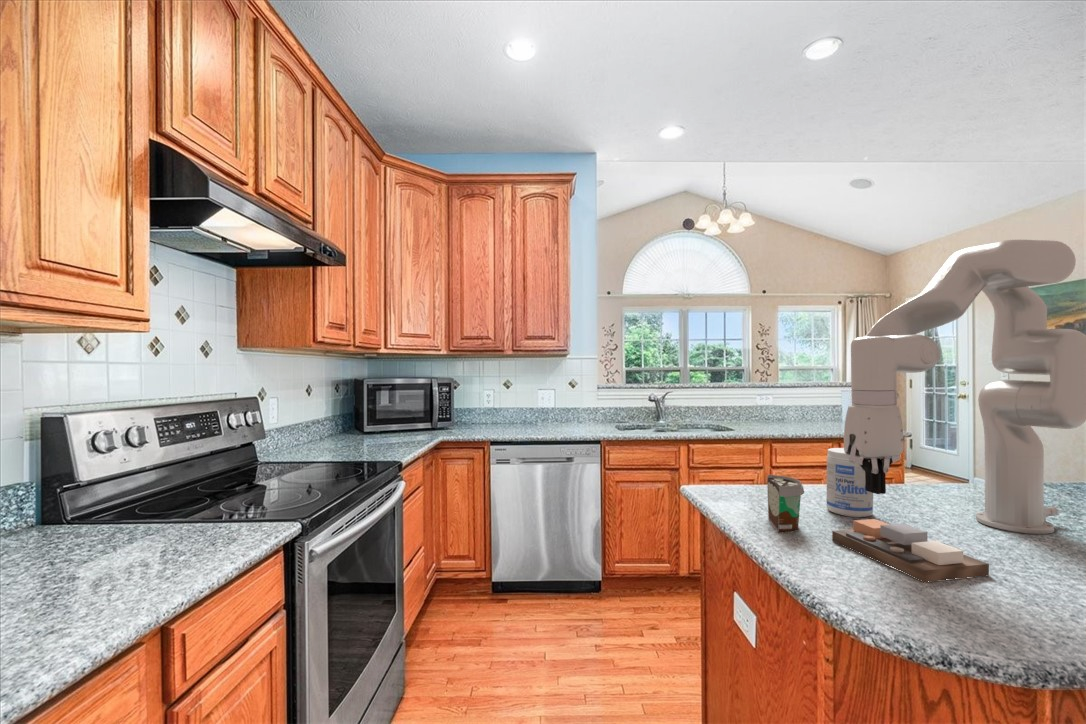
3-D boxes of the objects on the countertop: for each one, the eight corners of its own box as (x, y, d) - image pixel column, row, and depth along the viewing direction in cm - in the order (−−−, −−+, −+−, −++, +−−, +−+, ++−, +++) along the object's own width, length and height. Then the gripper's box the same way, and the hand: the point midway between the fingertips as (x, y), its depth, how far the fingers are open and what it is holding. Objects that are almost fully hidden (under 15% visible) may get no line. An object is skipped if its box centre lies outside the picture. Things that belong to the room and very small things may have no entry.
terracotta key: (874, 528, 104) (874, 518, 104) (896, 537, 99) (896, 526, 99) (853, 530, 103) (853, 520, 103) (873, 538, 98) (873, 528, 98)
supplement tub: (836, 517, 119) (835, 453, 119) (820, 506, 128) (819, 447, 128) (881, 519, 117) (881, 454, 117) (862, 507, 127) (862, 447, 127)
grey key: (902, 533, 98) (902, 523, 98) (927, 543, 93) (927, 531, 93) (880, 535, 97) (880, 525, 97) (904, 545, 92) (903, 533, 92)
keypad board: (887, 536, 106) (887, 522, 106) (988, 575, 86) (988, 558, 86) (832, 540, 103) (832, 526, 103) (924, 582, 84) (924, 564, 84)
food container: (812, 536, 106) (812, 488, 106) (780, 534, 107) (780, 486, 107) (795, 518, 118) (795, 475, 118) (766, 517, 119) (766, 474, 119)
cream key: (935, 551, 91) (935, 540, 91) (963, 562, 86) (963, 550, 86) (911, 554, 90) (911, 542, 90) (938, 565, 86) (938, 553, 86)
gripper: (889, 396, 106) (891, 485, 106) (826, 399, 103) (828, 490, 103) (923, 399, 99) (924, 494, 99) (856, 402, 96) (858, 500, 96)
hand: (875, 492), depth 101 cm, fingers closed
